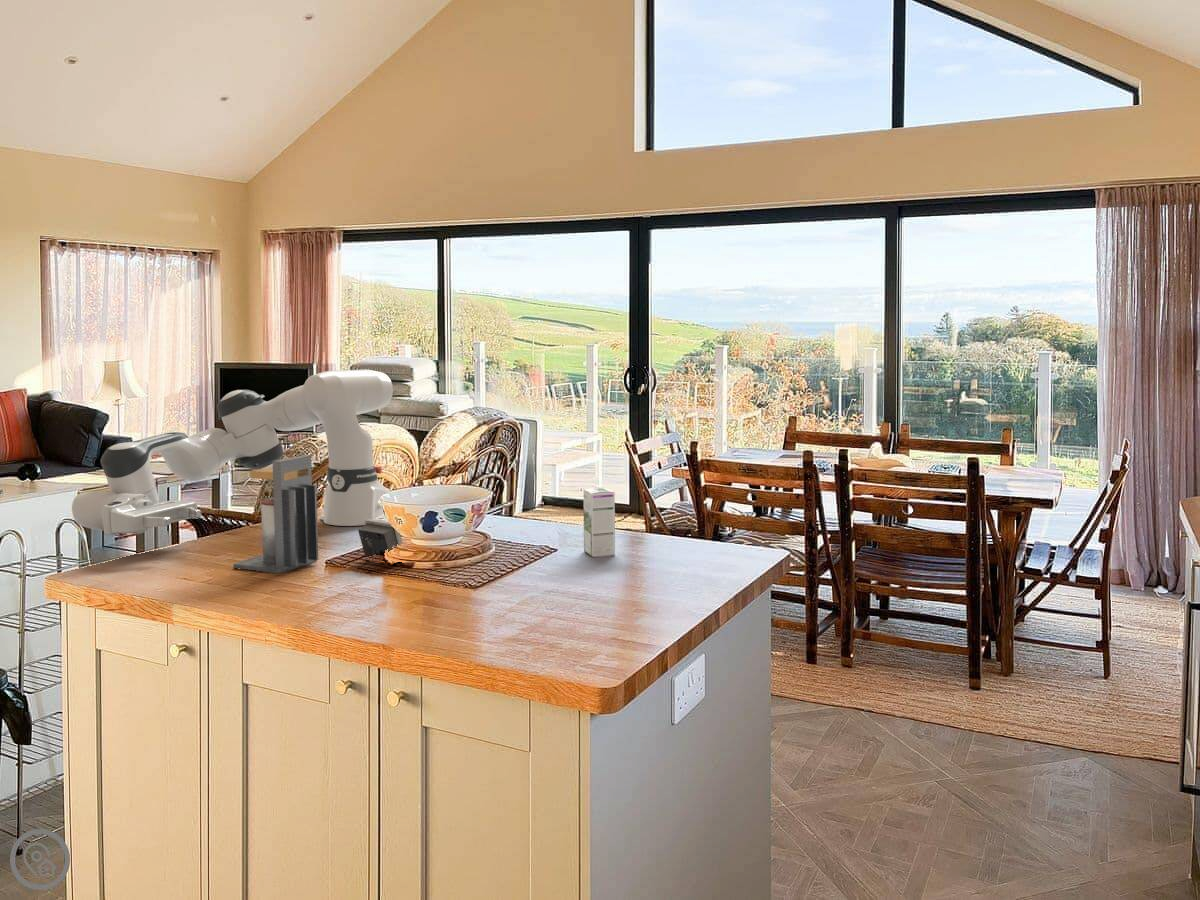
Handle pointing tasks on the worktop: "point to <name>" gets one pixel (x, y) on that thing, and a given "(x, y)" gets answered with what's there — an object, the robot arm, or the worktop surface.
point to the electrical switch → (378, 537)
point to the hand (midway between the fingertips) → (183, 518)
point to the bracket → (290, 516)
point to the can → (268, 530)
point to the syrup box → (599, 522)
